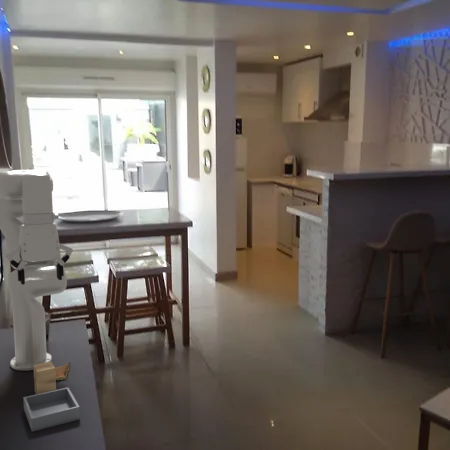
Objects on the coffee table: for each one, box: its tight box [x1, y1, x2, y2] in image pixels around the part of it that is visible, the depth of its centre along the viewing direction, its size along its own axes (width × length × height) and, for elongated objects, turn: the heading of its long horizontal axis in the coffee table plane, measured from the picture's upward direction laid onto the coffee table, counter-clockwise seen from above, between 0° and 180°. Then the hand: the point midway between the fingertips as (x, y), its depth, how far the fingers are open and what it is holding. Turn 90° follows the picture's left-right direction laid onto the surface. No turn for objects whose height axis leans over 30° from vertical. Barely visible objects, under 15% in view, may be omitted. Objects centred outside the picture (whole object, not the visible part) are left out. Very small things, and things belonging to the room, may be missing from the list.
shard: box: [55, 361, 72, 381], centre depth 155 cm, size 11×8×2 cm
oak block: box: [33, 361, 57, 395], centre depth 143 cm, size 5×5×8 cm
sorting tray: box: [22, 387, 81, 433], centre depth 132 cm, size 12×12×4 cm
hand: (41, 281), depth 137 cm, fingers open, 9 cm apart
